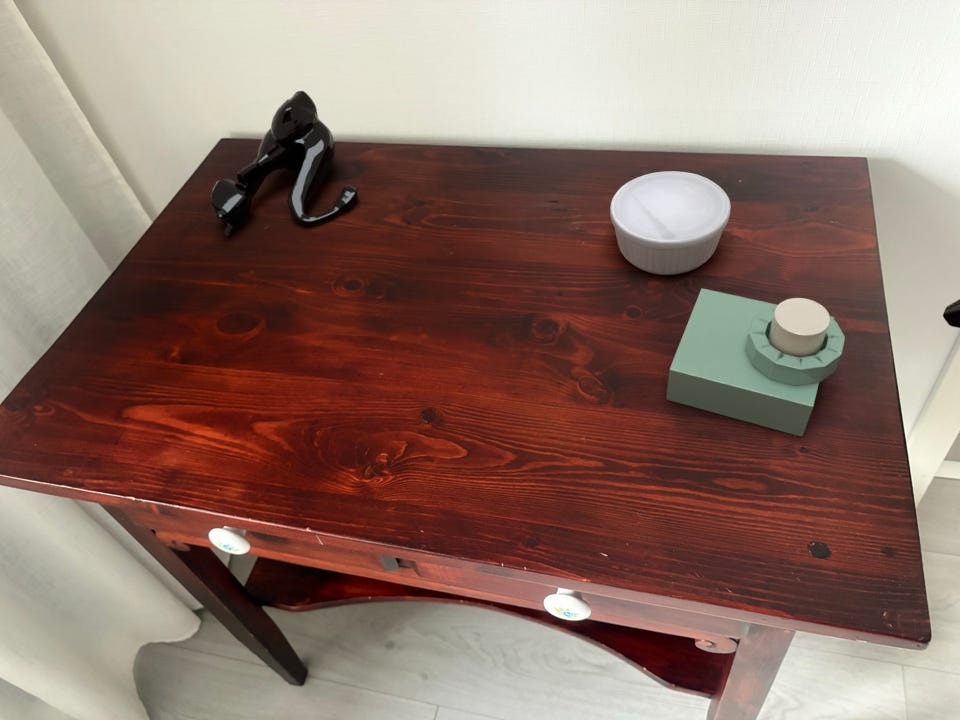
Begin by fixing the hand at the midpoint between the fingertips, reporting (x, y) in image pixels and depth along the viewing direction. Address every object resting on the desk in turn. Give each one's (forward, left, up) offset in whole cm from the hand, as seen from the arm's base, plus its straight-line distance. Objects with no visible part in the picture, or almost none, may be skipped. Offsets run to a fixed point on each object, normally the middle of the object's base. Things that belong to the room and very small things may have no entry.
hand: (947, 317), depth 50 cm
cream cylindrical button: (+9, -2, -7) cm, 11 cm away
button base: (+12, -2, -13) cm, 17 cm away
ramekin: (+23, -16, -13) cm, 30 cm away
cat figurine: (+65, -11, -13) cm, 67 cm away
